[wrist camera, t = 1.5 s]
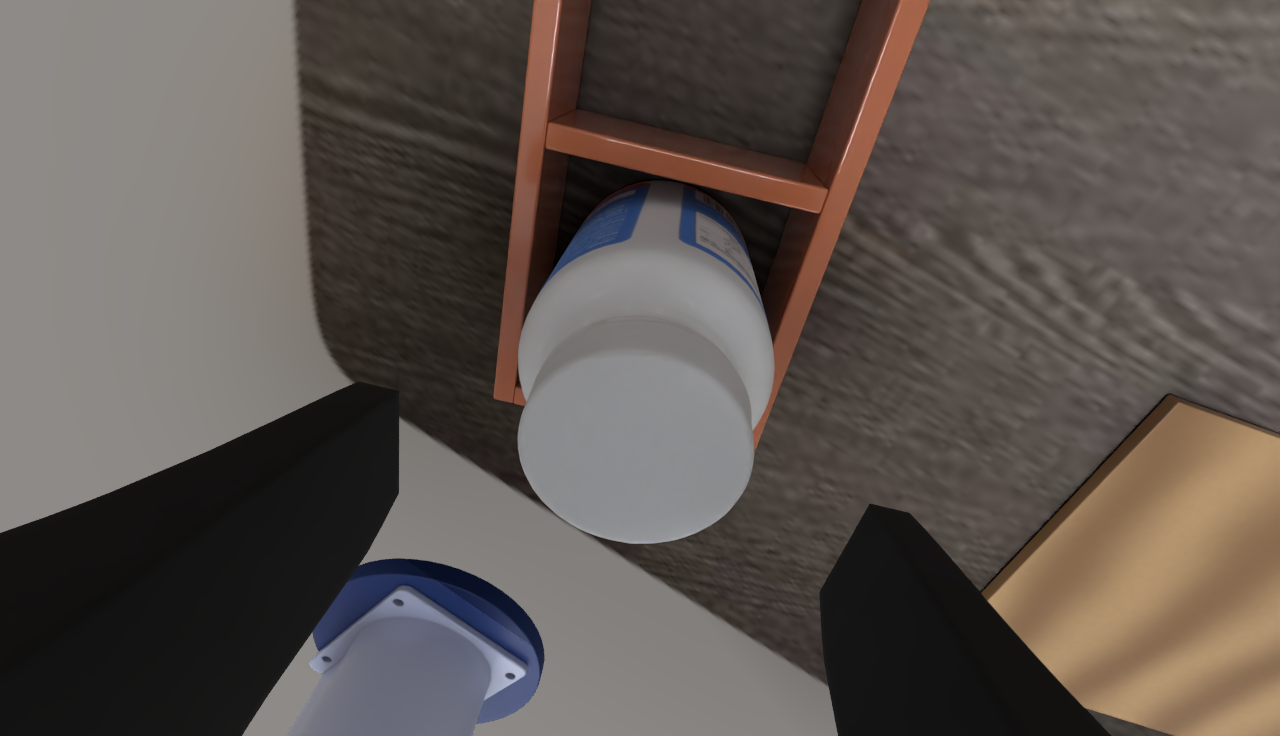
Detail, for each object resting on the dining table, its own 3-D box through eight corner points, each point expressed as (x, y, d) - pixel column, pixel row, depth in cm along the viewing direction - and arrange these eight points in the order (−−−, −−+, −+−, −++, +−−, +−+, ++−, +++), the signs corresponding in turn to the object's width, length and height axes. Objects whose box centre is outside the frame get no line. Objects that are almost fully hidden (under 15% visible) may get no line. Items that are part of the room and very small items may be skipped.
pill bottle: (576, 338, 20) (480, 558, 11) (573, 172, 17) (443, 294, 9) (740, 349, 19) (769, 586, 11) (762, 182, 17) (824, 319, 8)
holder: (745, 397, 20) (752, 459, 17) (524, 346, 20) (492, 399, 17) (945, -163, 13) (1021, -230, 10) (600, -251, 13) (568, -347, 10)
